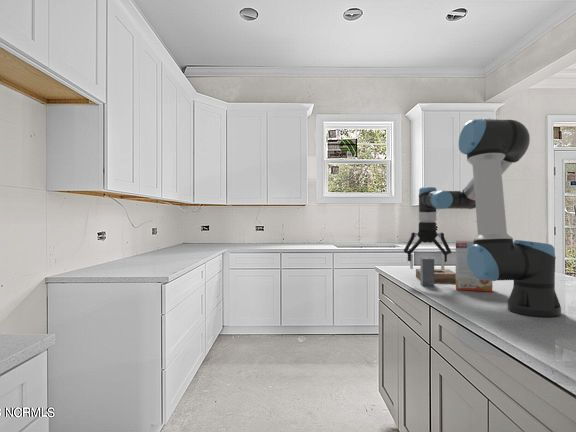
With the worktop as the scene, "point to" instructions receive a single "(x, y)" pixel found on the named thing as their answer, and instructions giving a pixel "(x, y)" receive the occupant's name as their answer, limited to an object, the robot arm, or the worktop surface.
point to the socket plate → (441, 276)
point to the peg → (427, 271)
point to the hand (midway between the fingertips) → (427, 268)
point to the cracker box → (467, 270)
